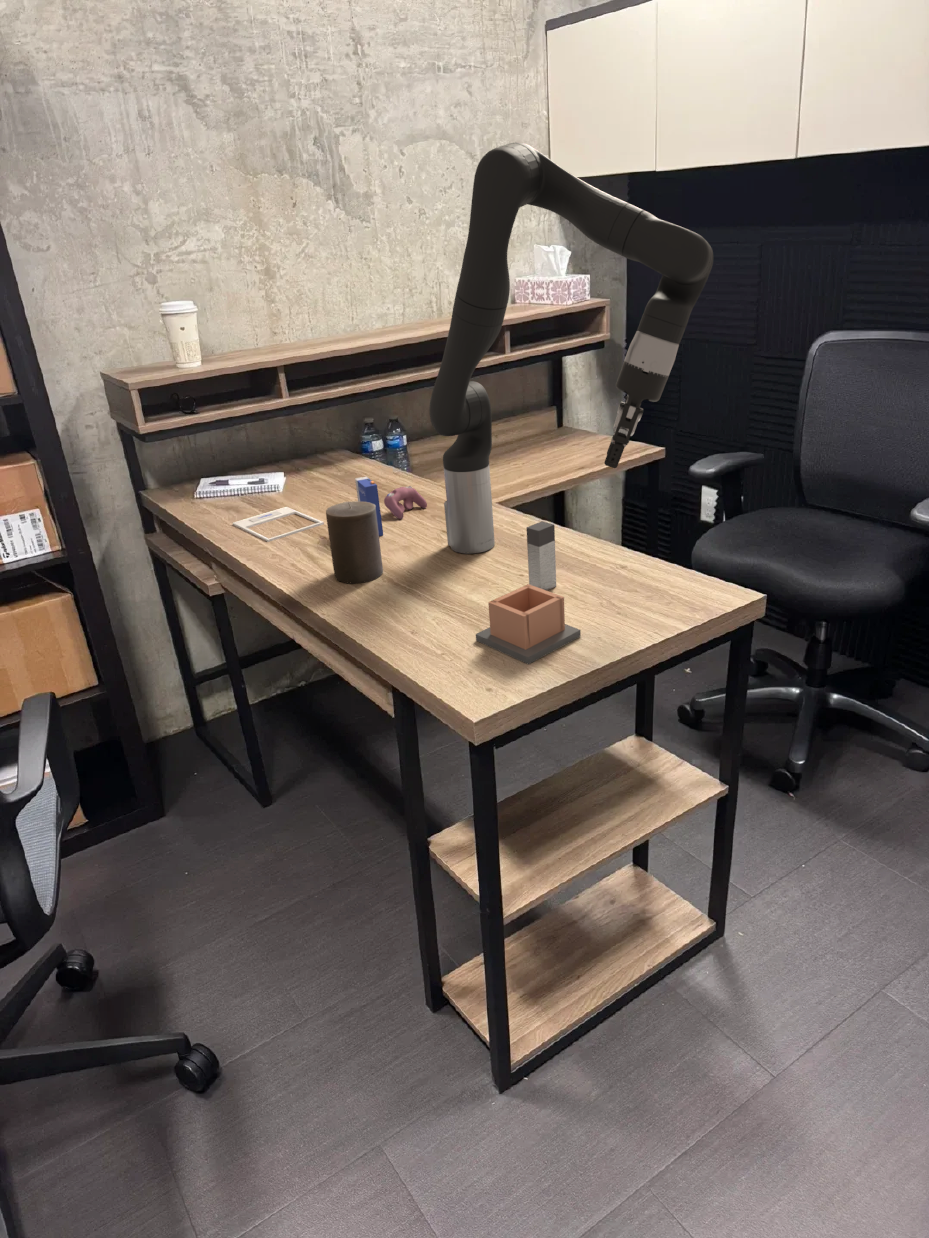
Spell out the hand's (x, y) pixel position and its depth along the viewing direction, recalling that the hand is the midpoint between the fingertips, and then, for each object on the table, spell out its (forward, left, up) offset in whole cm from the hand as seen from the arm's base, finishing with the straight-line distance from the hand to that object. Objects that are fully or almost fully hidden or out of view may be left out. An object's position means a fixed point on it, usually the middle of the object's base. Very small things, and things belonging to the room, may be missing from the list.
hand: (611, 461), depth 140 cm
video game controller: (-65, +4, -24) cm, 70 cm away
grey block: (-10, -7, -23) cm, 26 cm away
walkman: (-61, -9, -24) cm, 66 cm away
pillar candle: (-43, -25, -24) cm, 55 cm away
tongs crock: (+2, -23, -23) cm, 33 cm away
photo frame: (-84, -20, -24) cm, 90 cm away
